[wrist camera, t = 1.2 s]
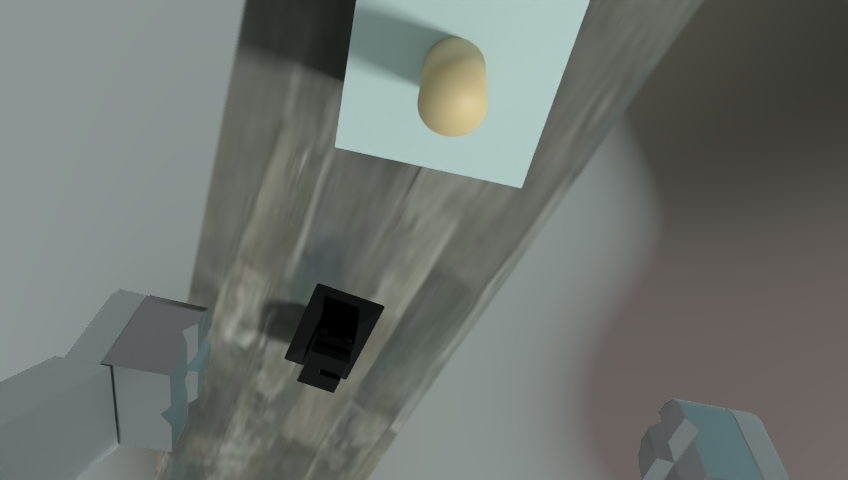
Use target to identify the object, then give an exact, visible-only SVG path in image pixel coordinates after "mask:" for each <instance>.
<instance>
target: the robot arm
mask: <svg viewBox="0 0 848 480" xmlns="http://www.w3.org/2000/svg"><path fill="white" fill-rule="evenodd" d="M210 327H211V310H210V309H209V308H205V307H201V306H196V305H192V304H187V303H183V302H178V301H173V300H169V299H164V298H160V297H155V296H151V295H150V296H147V295H143V294H139V293H134V292H129V291H125V290H121V289H120V290H118V291H117V292H115V293H113V294H112V295H111V296H110V297H109V299H108V300H107V301H106V303H105V304H104V305H103V307H102V308H101V310H100V311H99V312H98V314H97V315H96V316H95V318H94V319H93V320H92V321H91V323H90V324H89V326H88V327H87V328H86V330H85V331H84V332H83V334H82V335H81V336H80V338H79V339H78V340H77V342H76V343H75V344H74V346H73V347H72V348H71V350H70V351H69V352H68V354H67V355H66V357H65V358H63V357H57V356H54V357H53V358H50V359H48V360H46V361H44V362H42V363H40V364H38V365H36V366H33V367H31V368H29V369H27V370H25V371H23V372H21V373H19V374H17V375H14V376H12V377H10V378H8V379H6V380H4V381H2V382H0V480H75V479H77V478H78V477H79V476H81V475H82V474H83V473H85V472H86V471H87V470H89V469H90V468H91V467H93V466H94V465H95V464H97V463H98V462H99V461H100V460H102V459H103V458H105V457H106V456H107V455H108V454H110V453H111V452H112V451H114V450H115V449H117V448H118V444H122V445H128V446H135V447H141V448H148V449H155V450H162V451H168V452H172V451H173V449H174V447H175V445H176V442H177V440H178V438H179V436H180V434H181V432H182V430H183V427H184V425H185V423H186V421H187V416H188V403H190V402H191V401H193V400H194V399H196V398H197V397H198V395H199V393H200V390H201V388H202V386H203V383H204V380H205V377H206V373H207V370H208V366H209V360H210V351H211V344H210V343H209V341H208V340H207V339H206V338H205V337H206V335H207V333H208V331H209V329H210ZM659 414H660V417H661V421H662V422H660V423H657V424H656V425H653V426H651V427H649V428H648V429H647V431H646V433H645V435H644V436H643V438H642V440H641V444H640V449H639V454H638V457H639V469H640V473H641V477H642V480H790V479H789V477H788V475H787V473H786V471H785V469H784V467H783V465H782V463H781V461H780V459H779V456H778V455H777V452H776V451H775V448H774V446H773V444H772V442H771V440H770V438H769V436H768V435H767V432H766V430H765V428H764V426H763V424H762V422H761V420H760V419H759V418H758V417H757V416H755V414H753V413H748V412H743V411H737V410H732V409H723V408H720V407H714V406H710V405H704V404H699V403H693V402H688V401H683V400H677V399H670V400H669V401H667V402H665V404H664V405H663V406H662V408H661V409H660V411H659Z"/></svg>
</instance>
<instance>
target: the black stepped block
mask: <svg viewBox="0 0 848 480" xmlns="http://www.w3.org/2000/svg"><path fill="white" fill-rule="evenodd" d="M383 309H384V306H383V305H380V304H377V303H374V302H371V301H368V300H365V299H363V298H360V297H357V296H354V295H351V294H348V293H345V292H342V291H339V290H337V289H334V288H331V287H328V286H325V285H322V284H317V286H316V288H315V290H314V292H313V295H312V297H311V299H310V301H309V304H308V306H307V308H306V310H305V313H304V315H303V317H302V319H301V322H300V324H299V326H298V328H297V331H296V333H295V335H294V337H293V340H292V342H291V344H290V347H289V349H288V351H287V353H286V356H285V359H286V360H289V361H292V362H295V363H298V364H301V367H300V371H299V375H298V379H297V381H299V382H302V383H305V384H308V385H311V386H314V387H317V388H320V389H323V390H326V391H329V392H332V393H334V391H335V389H336V388H337V386H338V384H339V382H340V379H341V378H342V379H347V377H348V375H349V373H350V372H351V370H352V368H353V366H354V364H355V362H356V360H357V358H358V357H359V355H360V353H361V351H362V349H363V347H364V345H365V343H366V341H367V340H368V338H369V336H370V334H371V332H372V330H373V328H374V326H375V324H376V323H377V321H378V319H379V317H380V315H381V313H382V311H383Z"/></svg>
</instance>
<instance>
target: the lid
mask: <svg viewBox="0 0 848 480" xmlns="http://www.w3.org/2000/svg"><path fill="white" fill-rule="evenodd" d="M589 1H590V0H356V5H355V12H354V19H353V26H352V32H351V39H350V46H349V53H348V60H347V67H346V74H345V81H344V88H343V95H342V102H341V109H340V116H339V122H338V129H337V136H336V143H335V147H336V148H341V149H345V150H350V151H354V152H359V153H364V154H368V155H373V156H377V157H382V158H386V159H391V160H396V161H400V162H405V163H409V164H414V165H418V166H423V167H428V168H432V169H437V170H441V171H446V172H450V173H455V174H459V175H464V176H469V177H473V178H478V179H482V180H487V181H491V182H496V183H501V184H505V185H510V186H514V187H519V188H522V185H523V183H524V180H525V177H526V174H527V172H528V169H529V166H530V163H531V161H532V158H533V155H534V152H535V150H536V147H537V144H538V141H539V139H540V136H541V133H542V130H543V128H544V125H545V122H546V119H547V116H548V114H549V111H550V108H551V105H552V103H553V100H554V97H555V94H556V92H557V89H558V86H559V83H560V81H561V78H562V75H563V72H564V70H565V67H566V64H567V61H568V59H569V56H570V53H571V50H572V48H573V45H574V42H575V39H576V37H577V34H578V31H579V28H580V26H581V23H582V20H583V17H584V15H585V12H586V9H587V6H588V4H589Z"/></svg>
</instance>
